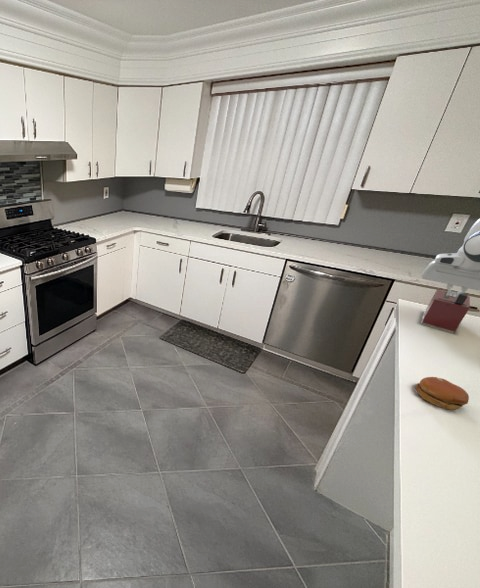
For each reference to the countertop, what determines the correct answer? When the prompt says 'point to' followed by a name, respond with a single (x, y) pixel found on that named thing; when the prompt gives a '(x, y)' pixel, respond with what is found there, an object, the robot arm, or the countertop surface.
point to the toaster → (445, 312)
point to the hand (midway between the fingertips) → (451, 296)
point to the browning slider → (461, 298)
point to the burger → (442, 393)
